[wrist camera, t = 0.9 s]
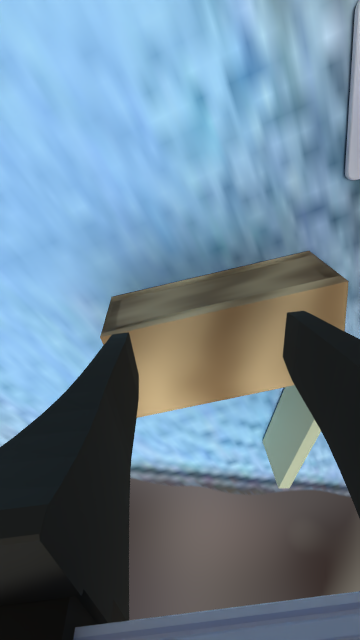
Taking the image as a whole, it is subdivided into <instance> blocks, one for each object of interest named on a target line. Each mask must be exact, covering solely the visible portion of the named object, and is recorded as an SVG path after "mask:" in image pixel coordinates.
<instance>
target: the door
mask: <svg viewBox="0 0 360 640" xmlns="http://www.w3.org/2000/svg"><path fill="white" fill-rule="evenodd" d="M320 432H321V430H320V428H319V426H318V425H317V423H316V421H315V419H314V418H313V416H312V414H311V413H310V411H309V409H308V407H307V406H306V404H305V402H304V401H303V399H302V397H301V395H300V394H299V392H298V390H297V388H296V387H295V385H293V386H288V387H285V389H284V391H283V393H282V396H281V398H280V401H279V403H278V405H277V408H276V410H275V413H274V415H273V417H272V420H271V422H270V425H269V427H268V429H267V432H266V434H265V437H264V439H263V444H264V447H265V450H266V453H267V456H268V459H269V462H270V465H271V468H272V471H273V473H274V476H275V479H276V482H277V485H278V488H290V486H291V484H292V482H293V481H294V479H295V477H296V475H297V473H298V472H299V470H300V468H301V466H302V464H303V463H304V461H305V459H306V457H307V455H308V454H309V452H310V450H311V448H312V446H313V445H314V443H315V441H316V439H317V437H318V436H319V434H320Z"/></svg>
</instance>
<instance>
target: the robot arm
mask: <svg viewBox="0 0 360 640" xmlns="http://www.w3.org/2000/svg"><path fill="white" fill-rule="evenodd" d="M345 176H346V177H347V178H348V179H350V180H358V179H360V0H359V1H358V3H357V5H356V9H355V19H354V35H353V51H352V68H351V84H350V100H349V116H348V132H347V148H346V164H345ZM283 359H284V362H285V365H286V367H287V370H288V372H289V375H290V377H291V379H292V381H293V383H294V385H295V387H296V388H297V390H298V392H299V394H300V395H301V397H302V399H303V401H304V402H305V404H306V406H307V407H308V409H309V411H310V413H311V414H312V416H313V418H314V419H315V421H316V423H317V425H318V426H319V428H320V430H321V432H322V433H323V435H324V437H325V439H326V441H327V443H328V445H329V447H330V449H331V452H332V454H333V456H334V458H335V461H336V463H337V465H338V467H339V469H340V472H341V474H342V476H343V479H344V481H345V484H346V486H347V488H348V491H349V493H350V495H351V498H352V500H353V502H354V505H355V508H356V510H357V513H358V515H359V518H360V339H358V338H356V337H354V336H352V335H350V334H348V333H346V332H344V331H342V330H341V329H339V328H337V327H335V326H333V325H331V324H329V323H327V322H326V321H324V320H322V319H320V318H318V317H316V316H314V315H312V314H310V313H308V312H306V311H296V312H288V313H287V316H286V326H285V337H284V347H283ZM138 401H139V373H138V369H137V365H136V360H135V356H134V352H133V347H132V343H131V339H130V335H129V332H126V333H118V334H112V335H111V336H110V338H109V339H108V340H107V342H106V343H105V344H104V346H103V347H102V348H101V350H100V351H99V352H98V354H97V355H96V356H95V358H94V359H93V360H92V361H91V363H90V364H89V365H88V366H87V368H86V369H85V370H84V371H83V373H82V374H81V375H80V376H79V377H78V378H77V379H76V381H75V382H74V383H73V384H72V385H71V386H70V387H69V389H68V390H67V391H66V392H65V393H64V394H63V395H62V396H61V397H60V398H59V399H58V400H57V401H56V402H55V403H53V404H52V405H51V406H50V407H49V408H48V409H47V410H46V411H45V412H44V413H43V414H42V415H40V416H39V417H38V418H37V419H36V420H34V421H33V422H32V423H31V424H29V425H28V426H27V427H26V428H25V429H23V430H22V431H21V432H20V433H18V434H17V435H16V436H15V437H13V438H12V439H11V440H9V441H8V442H7V443H5V444H4V445H3V446H1V447H0V640H360V591H359V592H351V593H344V594H335V595H328V596H319V597H312V598H304V599H296V600H288V601H280V602H272V603H264V604H257V605H248V606H241V607H233V608H225V609H217V610H209V611H201V612H193V613H185V614H177V615H170V616H161V617H154V618H146V619H138V620H130V621H129V498H130V496H129V495H130V467H131V456H132V448H133V440H134V433H135V425H136V418H137V410H138Z"/></svg>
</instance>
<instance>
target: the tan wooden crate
mask: <svg viewBox="0 0 360 640" xmlns="http://www.w3.org/2000/svg"><path fill="white" fill-rule="evenodd" d="M347 293H348V281H347V280H346V279H345V278H344V277H342V276H341V275H340V274H338V273H337V272H336V271H334V270H333V269H332V268H331V267H329V266H328V265H327V264H325V263H324V262H323V261H321V260H320V259H319V258H318V257H316V256H315V255H314V254H312V253H311V252H310V251H306V252H302V253H298V254H293V255H289V256H285V257H281V258H276V259H272V260H268V261H263V262H259V263H255V264H251V265H246V266H242V267H238V268H234V269H229V270H225V271H221V272H216V273H212V274H208V275H204V276H199V277H195V278H191V279H187V280H182V281H178V282H174V283H169V284H165V285H161V286H157V287H152V288H148V289H144V290H140V291H135V292H131V293H127V294H122V295H118V296H114V297H112V298H111V301H110V305H109V308H108V312H107V315H106V319H105V322H104V326H103V329H102V333H101V336H100V338H101V340H102V342H103V345H104V344H105V343H106V342H107V340H108V339H109V338H110V336H111V335H112V334H118V333H126V332H129V335H130V339H131V343H132V347H133V352H134V356H135V360H136V365H137V369H138V373H139V401H138V410H137V418H138V417H142V416H147V415H152V414H157V413H162V412H167V411H172V410H176V409H181V408H186V407H191V406H196V405H201V404H205V403H210V402H215V401H220V400H225V399H230V398H235V397H239V396H244V395H249V394H254V393H259V392H264V391H269V390H273V389H278V388H283V387H288V386H293V385H294V383H293V381H292V379H291V377H290V375H289V372H288V370H287V367H286V365H285V362H284V359H283V347H284V337H285V326H286V316H287V313H288V312H296V311H306V312H308V313H310V314H312V315H314V316H316V317H318V318H320V319H322V320H324V321H326V322H327V323H329V324H331V325H333V326H335V327H337V328H339V329H341V330H342V331H344V330H345V318H346V306H347Z"/></svg>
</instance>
